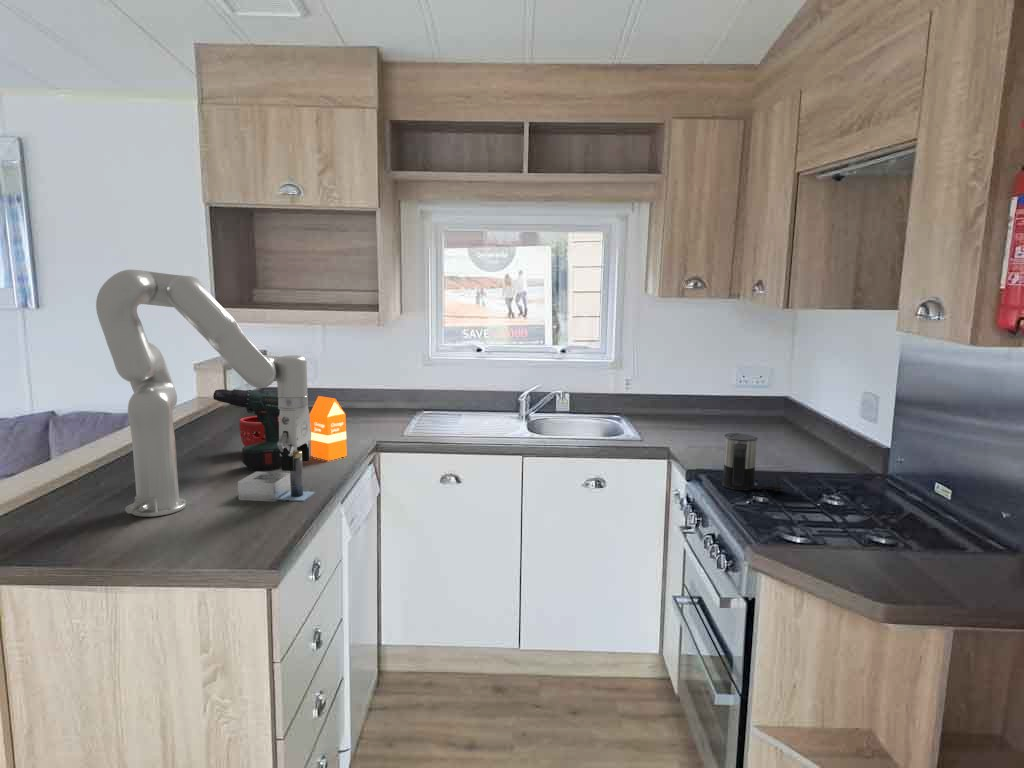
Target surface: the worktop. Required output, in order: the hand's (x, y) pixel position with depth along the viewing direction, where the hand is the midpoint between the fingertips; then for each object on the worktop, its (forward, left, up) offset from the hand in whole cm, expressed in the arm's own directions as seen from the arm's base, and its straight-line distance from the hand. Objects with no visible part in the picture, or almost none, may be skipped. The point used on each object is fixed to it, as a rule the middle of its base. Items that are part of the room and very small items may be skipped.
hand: (295, 465), depth 184 cm
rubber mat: (0, 0, -9) cm, 9 cm away
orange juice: (+41, +8, -9) cm, 43 cm away
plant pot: (+42, +32, -9) cm, 54 cm away
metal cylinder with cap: (0, 0, -8) cm, 8 cm away
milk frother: (+27, -124, -9) cm, 127 cm away
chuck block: (0, +9, -9) cm, 12 cm away
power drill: (+25, +24, -9) cm, 36 cm away
